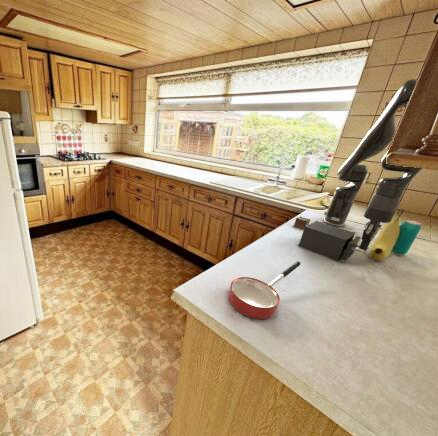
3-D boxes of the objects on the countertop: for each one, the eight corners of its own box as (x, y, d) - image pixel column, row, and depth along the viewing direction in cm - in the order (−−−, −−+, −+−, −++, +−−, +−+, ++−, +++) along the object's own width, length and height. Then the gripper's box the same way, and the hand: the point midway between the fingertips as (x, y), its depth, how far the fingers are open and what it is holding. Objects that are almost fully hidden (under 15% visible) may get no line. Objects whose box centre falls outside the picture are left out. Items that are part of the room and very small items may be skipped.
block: (297, 224, 128) (300, 216, 126) (307, 228, 124) (310, 219, 122) (293, 226, 125) (296, 218, 123) (303, 230, 121) (306, 221, 119)
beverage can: (397, 250, 105) (414, 220, 99) (409, 257, 100) (427, 225, 94) (383, 249, 106) (399, 218, 100) (394, 255, 100) (411, 224, 95)
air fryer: (346, 252, 101) (355, 232, 97) (337, 261, 94) (346, 240, 90) (309, 239, 111) (316, 220, 108) (298, 245, 104) (304, 226, 100)
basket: (367, 258, 95) (375, 241, 92) (359, 267, 89) (368, 249, 86) (317, 240, 108) (323, 225, 105) (307, 246, 102) (313, 230, 99)
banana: (381, 268, 90) (405, 221, 82) (362, 261, 94) (383, 216, 86) (390, 252, 103) (412, 210, 96) (373, 246, 107) (393, 205, 100)
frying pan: (268, 264, 89) (272, 250, 86) (306, 282, 79) (312, 266, 77) (219, 299, 69) (223, 282, 67) (262, 328, 60) (268, 309, 58)
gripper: (392, 213, 78) (370, 258, 85) (399, 207, 86) (379, 248, 92) (363, 207, 84) (345, 249, 90) (372, 201, 91) (355, 241, 98)
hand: (362, 248), depth 91 cm, fingers closed
